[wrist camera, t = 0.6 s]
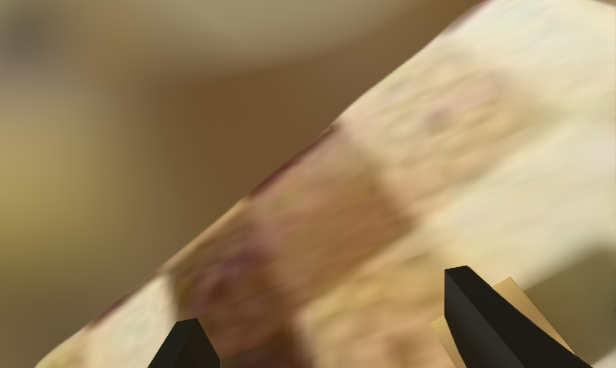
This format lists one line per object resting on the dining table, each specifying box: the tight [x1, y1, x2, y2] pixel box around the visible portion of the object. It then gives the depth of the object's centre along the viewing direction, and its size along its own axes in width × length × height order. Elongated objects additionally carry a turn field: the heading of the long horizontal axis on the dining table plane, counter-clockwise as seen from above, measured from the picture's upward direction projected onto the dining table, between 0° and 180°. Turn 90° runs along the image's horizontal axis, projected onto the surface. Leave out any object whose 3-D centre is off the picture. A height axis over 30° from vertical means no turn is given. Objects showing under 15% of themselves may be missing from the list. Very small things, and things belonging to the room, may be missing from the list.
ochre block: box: [430, 277, 575, 368], centre depth 20 cm, size 5×5×6 cm
